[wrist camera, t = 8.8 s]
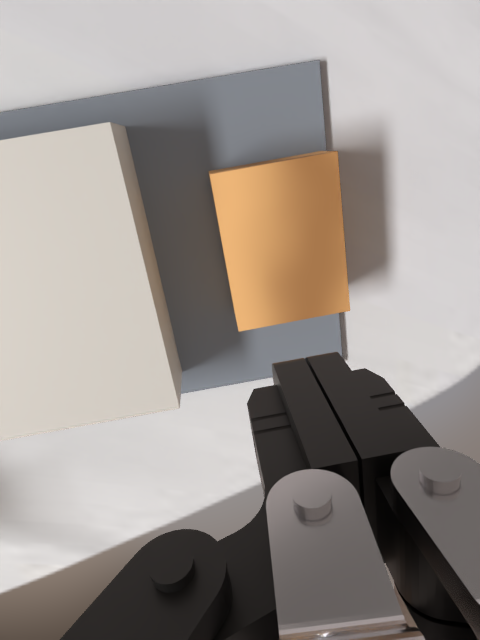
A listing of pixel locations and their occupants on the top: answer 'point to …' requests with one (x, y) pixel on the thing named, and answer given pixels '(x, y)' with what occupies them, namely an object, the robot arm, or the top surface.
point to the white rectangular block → (79, 287)
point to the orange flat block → (283, 238)
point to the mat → (206, 200)
